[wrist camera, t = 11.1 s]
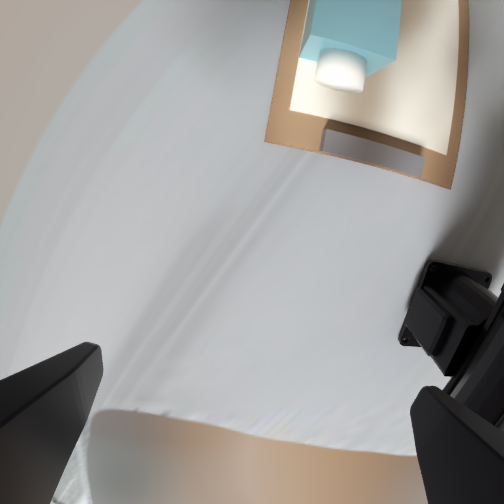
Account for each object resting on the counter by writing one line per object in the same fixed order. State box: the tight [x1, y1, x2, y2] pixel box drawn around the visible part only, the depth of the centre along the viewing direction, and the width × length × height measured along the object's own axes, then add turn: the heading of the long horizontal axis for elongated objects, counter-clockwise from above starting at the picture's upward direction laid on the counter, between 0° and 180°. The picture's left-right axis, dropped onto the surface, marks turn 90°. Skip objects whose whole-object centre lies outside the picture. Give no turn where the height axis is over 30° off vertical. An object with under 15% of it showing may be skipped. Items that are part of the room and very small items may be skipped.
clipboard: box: [264, 0, 469, 190], centre depth 14 cm, size 12×15×1 cm
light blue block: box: [299, 0, 402, 93], centre depth 12 cm, size 10×4×4 cm, turn 170°
